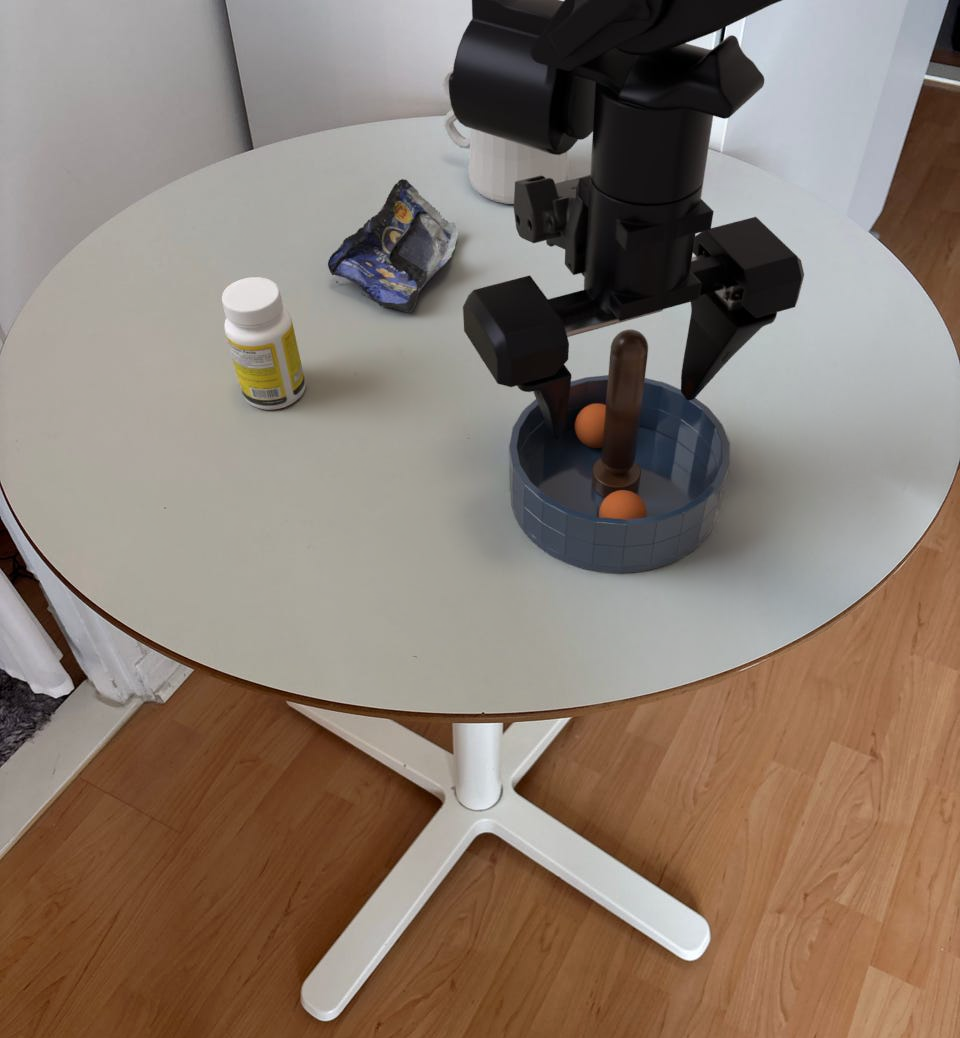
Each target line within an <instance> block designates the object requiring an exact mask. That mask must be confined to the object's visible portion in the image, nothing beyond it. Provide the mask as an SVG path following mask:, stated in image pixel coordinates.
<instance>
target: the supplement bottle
mask: <svg viewBox="0 0 960 1038" xmlns="http://www.w3.org/2000/svg"><path fill="white" fill-rule="evenodd" d="M221 301H222V306H223V311H224V315H225V320H224V334H225V337H226V340H227V344H228V349H229V351H230V355H231V358H232V362H233V365H234V368H235V373H236V375H237V379H238V384H239V386H240V390H241V393H242V396H243V398H244V400H245V401H246V402H247V403H248V404H250V405H251V406H253V407H255V408H257V409H260V410H268V411H269V410H270V411H271V410H280V409H284V408H286V407H289V406H290V405H292V404H294V403H295V402H297V400H299V399H300V398H301V397H302V396H303V394H304V393H305V390H306V378H305V374H304V369H303V365H302V359H301V356H300V352H299V351H300V350H299V346H298V341H297V337H296V333H295V332H296V331H295V328H294V323H293V319H292V316H291V313H290V311H289V310H288V309H287V307H285V306H284V303H283V299H282V294H281V291H280V288H279V286H278V285H277V283H276V282H274V281H273V280H272V279H269V278H265V277H261V276H260V277H259V276H257V277H256V276H252V277H245V278H241V279H239V280H236V281H234V282H232V283H230V284H229V285H228V286H227V287H226V288H225V289H224V291H223V292H222V294H221Z"/></svg>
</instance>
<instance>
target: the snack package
mask: <svg viewBox="0 0 960 1038" xmlns="http://www.w3.org/2000/svg"><path fill="white" fill-rule="evenodd" d="M455 224H456V223H455V222H450V221H448V220H447V219H445V217H443V215H442V214H441V212H440V211H439V210H438V209H436V207H435V206H434V207H433V205H432V204H431V203H430V202H429V201H427V200H426V199H425V198H424V197H423V196H422V195H420V193H419V191H418V189H416V187H414V185H412V184H411V183H410V182H409V181H408V180H407V179H404V178H402V179H399V180H398V181H397V182H396V183H395V184H394V185H393V187H392V189H391V190H390V192H389V194H388V196H387V197H386V199H385V203H384V205H382V206H381V208H380V210H379V211H378V212H377V214H375V215H373V216H372V217H370V219H368V220H367V221H366V222H365V223H364V224H363V226H362V227H359V228H358V229H357V231H356V232H355V233H353V234H350V235H349V236H348V237H346V238H345V239H343V241H342V244H340V245H339V247H338V248H337V249H336V250H335V251H333V253H332V254H331V256H330V257H329V259H328V262H327V267H328V271H329V272H330V274H331V275H332V276H337V277H340V278H343V279H344V278H345V279H346V280H348V281H350V282H352V283H354V284H355V285H356V286H358V287H359V288H360V289H361V290H363V292H364V293H366V294H367V295H368V296H367V297H366V295H365V294H363V293H360V294H361V295H363V296H364V297H366V299H369V298H370V300H371V301H374V302H377V304H378V306H379V307H384V308H386V309H395V310H399V311H401V312H404V313H408V314H409V313H412V311H413V310H414V308H415V307H416V304H417V302H418V299H419V294H420V292H421V290H422V289H423V288H424V287H425V285H426V284H427V282H428V281H430V280H431V279H432V277H433V276H434V275H435V274H436V273H437V272H438V271H440V269H441V268H442V267H444V266H445V265H446V264H447V263H448V261H449V260H450V258H452V257H453V255H452V254H453V253H454V251H455V249H456V243H457V241H458V237H459V228H458V227H457V225H455ZM335 283H336V284H339V283H340V282H339V281H337V280H335Z"/></svg>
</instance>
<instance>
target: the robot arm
mask: <svg viewBox="0 0 960 1038" xmlns="http://www.w3.org/2000/svg"><path fill="white" fill-rule="evenodd" d="M782 1H783V0H471V20H470V21H469V23H468V25H467V26H466V28H465V30H464V31H463V33H462V37H461V39H460V41H459V43H458V46H457V49H456V54H455V58H454V61H453V62H454V63H453V64H454V68H453V73H452V74H451V75H450V77H449V95H450V99H449V101H450V106H451V110H452V109H453V112H454V115H455V116H456V118H457V121H458V123H460V124H461V125H463V126H464V127H466V128H469V129H471V128H472V129H475V130H478V131H481V132H484V133H487V134H490V135H494V136H497V137H500V138H503V139H506V140H509V141H512V142H515V143H519V144H522V145H525V146H528V147H531V148H534V149H537V150H541V151H544V152H547V153H550V154H554V155H561V154H563V153H565V152H567V153H568V152H569V151H570V150H571V149H572V148H573V147H574V145H575V144H576V143H577V142H579V141H580V140H584V139H587V138H588V137H589V136H590V135H591V134H592V138H591V139H592V142H591V156H590V157H591V160H590V174H589V175H585V176H582V177H577V178H573V179H569V180H566V181H564V182H560V183H556V184H555V182H554V180H553V179H551V178H545V177H544V176H536V177H532V178H528V179H524V180H520V181H516V182H515V192H514V204H513V214H514V221H515V227H516V228H515V229H516V231H517V233H518V236H519V237H520V238H521V239H523V240H525V241H528V242H529V243H532V244H537V243H541V242H545V243H546V245H547V246H548V247H551V248H552V247H558V248H560V249H563V250H564V265H565V267H566V268H567V269H568V270H569V272H570V274H572V275H573V276H575V275H580V274H581V275H582V277H584V280H583V289H581V290H577V291H575V292H571V293H567V294H563V295H560V296H556V297H551V298H548V297H547V296H546V295H545V294H544V292H543V291H542V289H541V288H540V287H539V285H538V284H537V283H536V281H535V280H534V279H533V277H532V275H526V276H522V277H518V278H515V279H510V280H506V281H502V282H499V283H493V284H490V285H486V286H483V287H480V288H475V289H473V290H472V291H471V292H470V293H469V294H468V295H467V298H466V299H465V302H464V303H463V306H462V316H463V317H462V318H463V331H464V333H465V335H466V337H467V339H469V341H470V343H471V344H472V346H473V347H474V349H475V351H476V353H477V354H478V355H479V357H480V359H481V360H482V362H483V363H484V365H485V366H486V368H487V369H488V371H489V373H490V375H491V376H492V378H493V379H494V381H495V382H496V384H497V385H501V386H505V387H509V388H513V387H517V388H518V389H519V390H520V391H521V392H525V393H532V392H533V394H534V397H535V399H537V402H538V404H539V407H540V409H541V412H542V414H543V417H544V419H545V422H546V424H547V427H548V429H549V431H550V433H551V434H552V436H553V437H554V439H555V440H558V439H561V438H562V435H563V432H564V429H565V425H566V417H567V409H568V401H569V393H570V385H571V381H572V373H571V372H570V370H569V369H568V368H567V366H566V365H565V364H566V363H567V362H568V361H569V350H570V341H569V338H570V337H574V336H577V335H581V334H584V333H588V332H591V331H595V330H598V329H602V328H606V327H610V326H614V325H616V324H621V323H624V322H628V321H631V320H636V319H640V318H642V317H646V316H650V315H652V314H653V315H654V314H656V313H660V312H663V311H664V310H667V309H671V308H674V307H677V306H680V305H683V304H687V303H690V309H691V312H690V318H689V324H688V331H687V336H686V342H685V347H684V348H685V349H684V353H683V359H682V365H681V372H680V373H681V375H680V376H681V377H680V378H681V379H680V390H681V392H682V394H683V395H684V397H685V398H686V399H687V400H688V401H690V400H693V399H695V398H697V396H699V395H700V393H701V392H702V391H703V390H704V389H705V387H706V386H707V385H708V384H709V383H710V382H711V381H712V379H713V378H714V377H716V375H717V374H718V373H719V372H720V371H721V369H722V368H723V367H724V366H726V364H727V363H728V362H729V361H730V360H731V358H732V357H734V355H735V354H737V352H739V350H741V348H743V347H744V345H746V343H747V342H749V341H750V340H751V339H752V338H753V337H754V336H755V335H756V334H757V333H758V332H759V331H760V330H761V329H762V328H763V327H765V326H768V325H771V324H773V323H774V322H775V320H776V319H777V315H778V313H780V312H783V311H787V310H791V309H793V308H796V306H797V303H798V301H799V297H800V293H801V289H802V285H803V281H804V278H805V272H804V268H803V263H802V260H801V258H800V257H799V256H798V255H797V254H796V253H795V252H794V251H792V250H791V249H790V248H789V247H788V246H787V245H786V244H785V243H784V242H783V241H782V240H781V239H780V238H779V237H778V236H777V235H776V234H775V233H774V232H773V231H772V230H771V229H770V228H768V227H767V226H766V224H764V223H763V222H762V221H761V220H760V219H759V218H758V217H757V216H753V217H750V218H745V219H741V220H738V221H734V222H729V223H726V224H722V225H718V226H714V227H712V223H713V217H714V212H715V210H713V209H712V208H711V207H710V206H709V205H708V204H707V202H705V201H704V200H703V199H702V195H703V194H702V193H703V187H704V180H705V175H706V174H705V173H706V168H707V162H708V161H707V160H708V153H709V147H710V141H711V135H712V128H713V127H712V126H713V120H714V117H716V118H719V119H725V120H726V119H729V118H731V117H732V116H733V115H734V114H735V113H737V111H738V110H739V109H740V108H742V107H743V105H745V104H746V103H747V102H748V101H749V100H750V99H751V98H752V97H754V96H755V95H756V94H757V93H758V92H760V90H761V89H762V88H764V85H765V76H764V75H763V73H762V72H761V71H760V69H759V68H758V67H757V65H756V64H755V63H754V61H753V60H752V59H751V58H749V57H748V56H747V55H746V54H745V53H744V51H743V50H742V48H741V46H740V43H739V40H738V38H737V37H736V36H735V35H731V34H730V35H728V36H727V37H726V38H724V39H723V40H722V41H721V42H720V43H718V44H717V45H716V46H715V47H714V48H712V49H708V48H705V47H701V46H696V45H693V44H690V43H689V42H692V41H696V40H698V39H700V38H703V37H706V36H708V35H710V34H713V33H716V32H718V31H720V30H722V29H724V28H726V27H728V26H730V25H732V24H734V23H736V22H738V21H740V20H743V19H745V18H747V17H749V16H751V15H753V14H756V13H757V12H759V11H762V10H764V9H766V8H767V7H770V6H773V5H774V4H777V3H779V2H782ZM696 234H697V235H696ZM693 254H694V256H693Z"/></svg>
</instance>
